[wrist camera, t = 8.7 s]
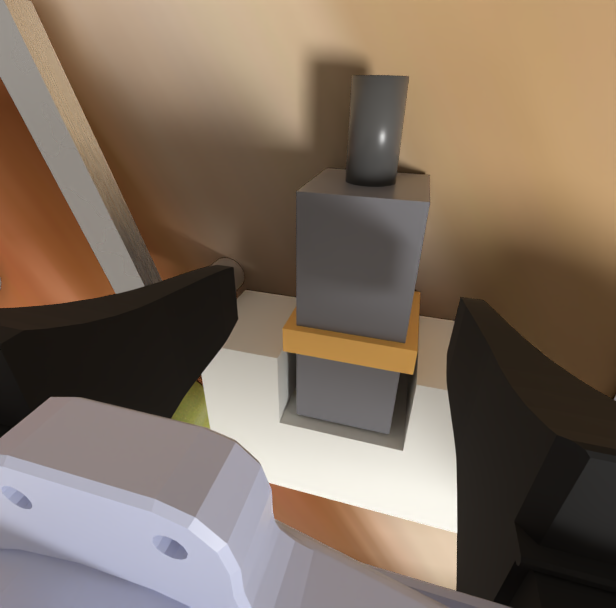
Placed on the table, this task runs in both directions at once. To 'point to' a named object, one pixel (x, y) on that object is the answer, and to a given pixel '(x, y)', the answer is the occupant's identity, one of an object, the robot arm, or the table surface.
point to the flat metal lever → (70, 147)
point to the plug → (359, 268)
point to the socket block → (329, 435)
